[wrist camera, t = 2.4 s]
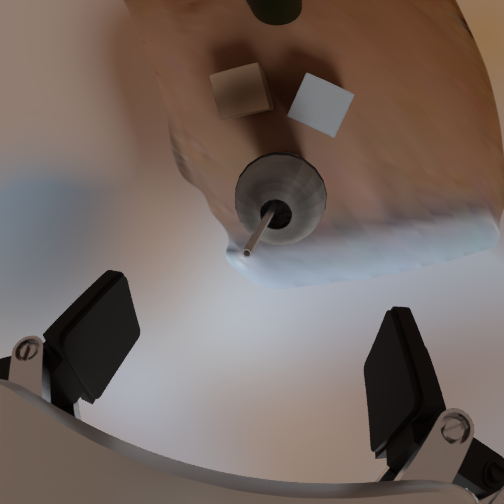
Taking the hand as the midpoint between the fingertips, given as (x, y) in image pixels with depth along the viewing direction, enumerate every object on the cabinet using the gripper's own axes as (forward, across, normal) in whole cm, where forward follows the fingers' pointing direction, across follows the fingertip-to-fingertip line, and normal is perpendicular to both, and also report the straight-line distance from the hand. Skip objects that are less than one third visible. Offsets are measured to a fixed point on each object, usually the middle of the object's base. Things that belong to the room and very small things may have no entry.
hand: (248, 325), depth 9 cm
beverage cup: (+26, 0, 0) cm, 26 cm away
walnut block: (+26, +5, -10) cm, 28 cm away
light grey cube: (+26, -3, -8) cm, 27 cm away
